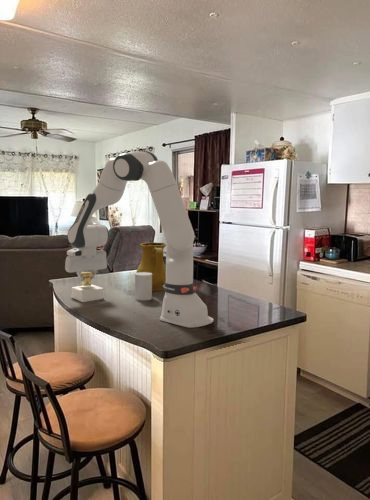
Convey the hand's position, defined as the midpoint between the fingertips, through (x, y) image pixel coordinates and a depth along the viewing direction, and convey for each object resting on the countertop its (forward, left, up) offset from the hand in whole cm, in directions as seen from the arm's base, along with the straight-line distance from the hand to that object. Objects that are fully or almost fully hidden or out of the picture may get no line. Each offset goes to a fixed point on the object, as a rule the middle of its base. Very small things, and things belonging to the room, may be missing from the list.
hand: (86, 279), depth 187 cm
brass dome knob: (0, 0, -2) cm, 2 cm away
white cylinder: (-16, -21, -9) cm, 28 cm away
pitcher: (-3, -36, -9) cm, 38 cm away
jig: (0, 0, -9) cm, 9 cm away
